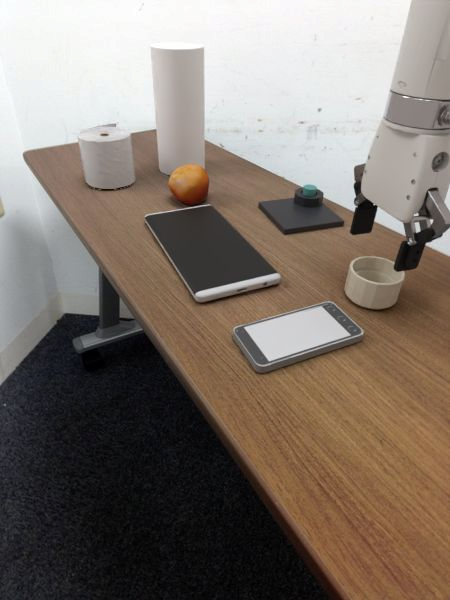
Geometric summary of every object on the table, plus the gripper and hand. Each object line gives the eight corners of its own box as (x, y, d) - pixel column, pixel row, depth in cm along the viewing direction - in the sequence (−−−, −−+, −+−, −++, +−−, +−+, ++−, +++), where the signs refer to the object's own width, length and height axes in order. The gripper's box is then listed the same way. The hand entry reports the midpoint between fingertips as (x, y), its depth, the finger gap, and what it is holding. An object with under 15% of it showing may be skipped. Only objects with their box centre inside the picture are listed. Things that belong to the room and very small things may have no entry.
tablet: (197, 306, 58) (196, 296, 57) (143, 222, 77) (142, 213, 76) (282, 285, 62) (283, 275, 61) (211, 211, 82) (211, 202, 81)
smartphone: (366, 333, 52) (258, 368, 47) (364, 339, 53) (258, 374, 48) (331, 300, 58) (230, 328, 52) (329, 306, 58) (230, 334, 53)
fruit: (225, 194, 85) (207, 163, 79) (196, 220, 84) (176, 192, 78) (203, 180, 90) (185, 151, 84) (176, 205, 89) (156, 178, 83)
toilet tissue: (94, 194, 87) (85, 144, 81) (78, 175, 95) (69, 128, 89) (143, 185, 91) (138, 137, 85) (124, 167, 99) (118, 122, 93)
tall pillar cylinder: (170, 179, 94) (162, 49, 79) (152, 164, 102) (142, 43, 87) (212, 172, 98) (213, 47, 83) (192, 158, 106) (190, 41, 91)
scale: (312, 199, 87) (315, 186, 85) (344, 226, 78) (347, 211, 76) (257, 207, 84) (258, 192, 82) (284, 235, 75) (286, 219, 73)
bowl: (376, 278, 64) (383, 252, 62) (406, 306, 59) (416, 279, 56) (334, 286, 62) (340, 260, 60) (362, 316, 57) (369, 288, 54)
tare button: (311, 191, 84) (312, 183, 83) (318, 196, 82) (319, 188, 81) (299, 192, 83) (300, 185, 82) (306, 197, 81) (307, 190, 81)
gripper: (514, 131, 40) (451, 281, 51) (399, 94, 53) (367, 218, 64) (451, 136, 38) (398, 291, 48) (347, 95, 51) (323, 224, 61)
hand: (381, 250), depth 56 cm, fingers open, 9 cm apart
